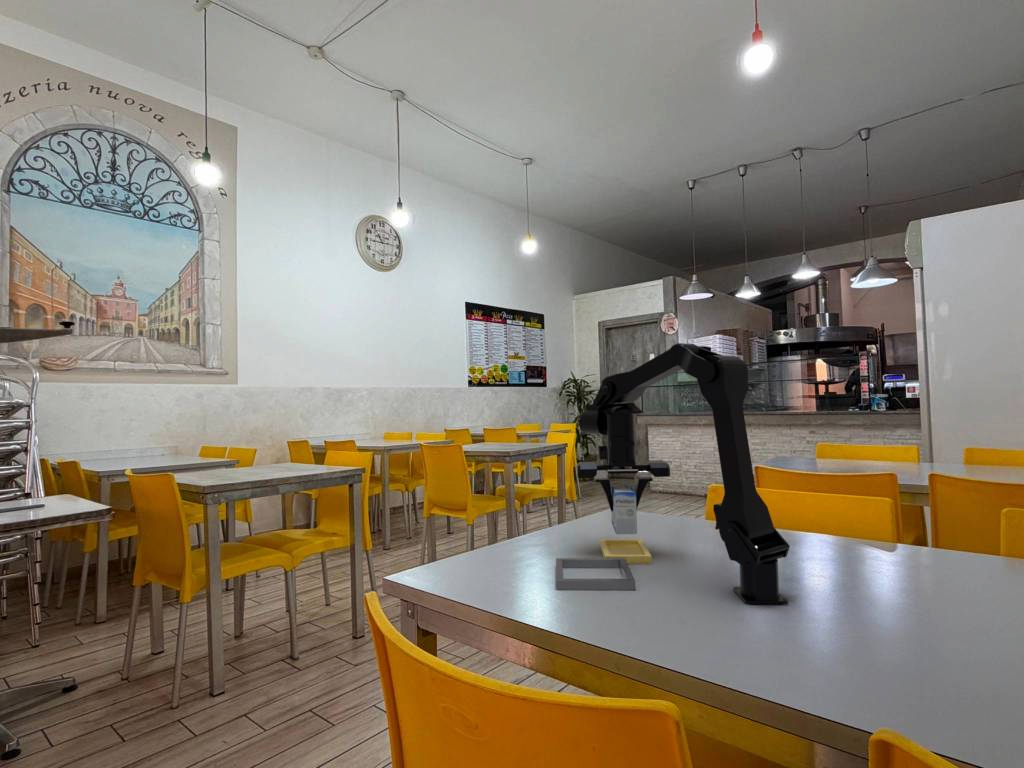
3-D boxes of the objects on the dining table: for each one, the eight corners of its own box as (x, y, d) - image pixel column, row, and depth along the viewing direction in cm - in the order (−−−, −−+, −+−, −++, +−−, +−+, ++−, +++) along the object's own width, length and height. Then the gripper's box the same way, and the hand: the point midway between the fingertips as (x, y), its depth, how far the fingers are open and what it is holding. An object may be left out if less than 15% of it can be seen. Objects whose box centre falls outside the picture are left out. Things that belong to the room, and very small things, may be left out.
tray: (651, 563, 107) (651, 556, 107) (605, 563, 108) (605, 556, 108) (641, 546, 120) (641, 539, 120) (600, 546, 121) (599, 539, 121)
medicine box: (611, 524, 118) (609, 484, 118) (632, 523, 118) (630, 483, 118) (615, 534, 110) (613, 492, 110) (637, 534, 110) (636, 491, 110)
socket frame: (635, 589, 93) (635, 581, 93) (556, 589, 94) (556, 580, 94) (625, 565, 106) (625, 558, 106) (556, 565, 107) (556, 558, 107)
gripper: (658, 432, 122) (661, 503, 121) (574, 434, 123) (577, 504, 123) (669, 435, 111) (672, 513, 110) (576, 437, 112) (579, 514, 112)
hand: (623, 510), depth 114 cm, fingers closed on medicine box, 4 cm apart
